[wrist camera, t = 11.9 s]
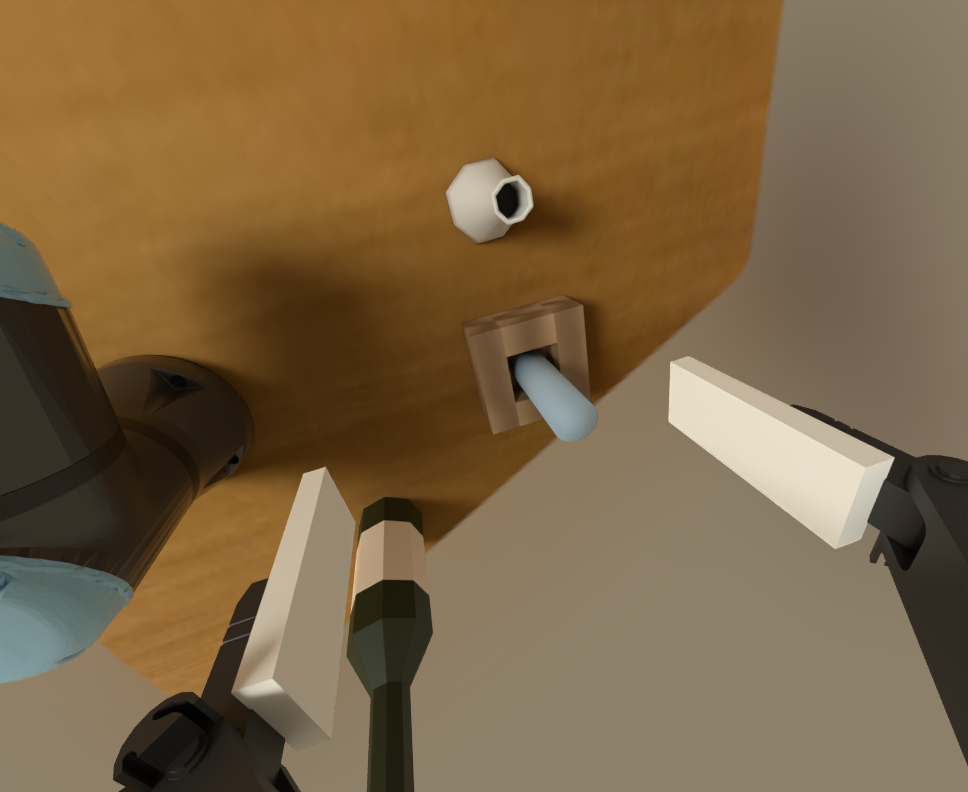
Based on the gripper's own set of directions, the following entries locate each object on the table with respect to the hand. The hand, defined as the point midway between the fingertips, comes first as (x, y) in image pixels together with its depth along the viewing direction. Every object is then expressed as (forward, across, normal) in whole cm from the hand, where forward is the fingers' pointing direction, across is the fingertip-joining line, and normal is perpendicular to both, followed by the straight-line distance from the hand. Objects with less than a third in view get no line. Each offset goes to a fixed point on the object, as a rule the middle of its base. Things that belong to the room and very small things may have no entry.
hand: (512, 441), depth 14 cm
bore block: (+29, +8, -10) cm, 31 cm away
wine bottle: (+29, -14, -28) cm, 43 cm away
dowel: (+28, +8, -10) cm, 31 cm away
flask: (+29, +7, +7) cm, 31 cm away
